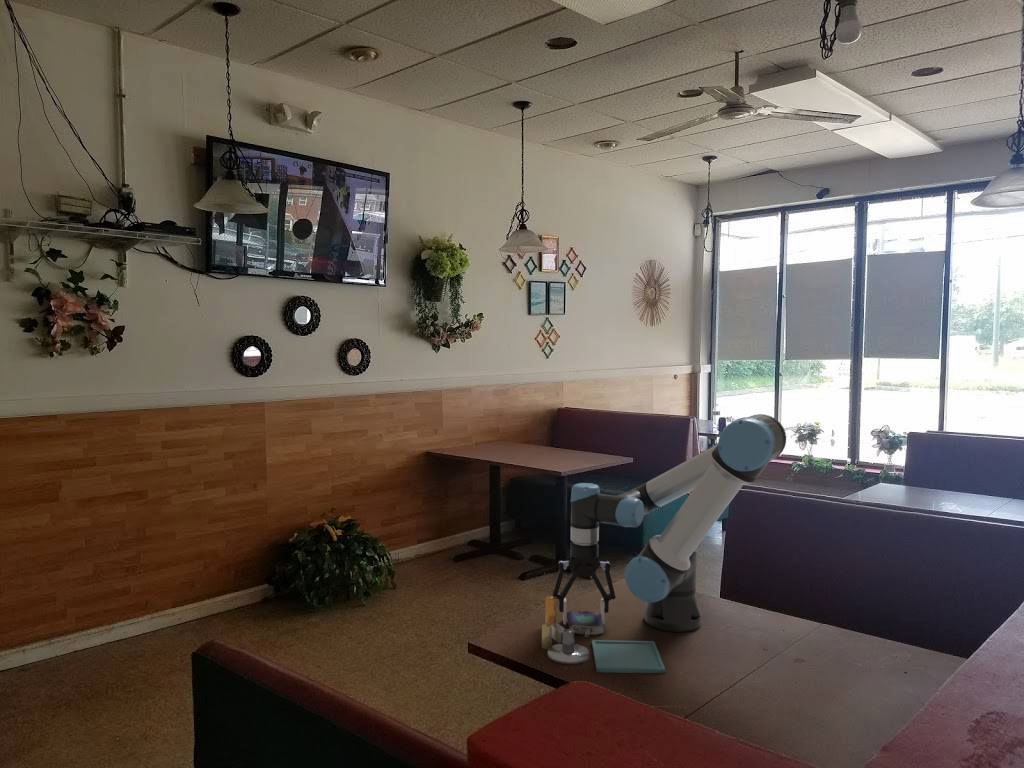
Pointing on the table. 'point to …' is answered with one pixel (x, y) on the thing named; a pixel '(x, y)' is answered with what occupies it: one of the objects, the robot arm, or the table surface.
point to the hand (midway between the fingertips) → (583, 623)
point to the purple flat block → (585, 622)
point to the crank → (553, 619)
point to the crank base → (563, 647)
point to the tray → (627, 656)
